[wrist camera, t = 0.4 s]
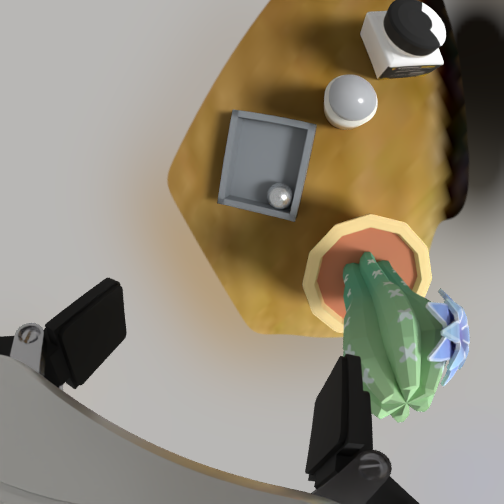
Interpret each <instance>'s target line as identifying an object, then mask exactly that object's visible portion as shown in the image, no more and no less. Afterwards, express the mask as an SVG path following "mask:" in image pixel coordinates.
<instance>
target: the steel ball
mask: <svg viewBox="0 0 504 504" xmlns="http://www.w3.org/2000/svg"><path fill="white" fill-rule="evenodd" d="M267 200H268V202H269V204H270V205H271V206H272V207H274V208H276V209H284V208H286V207H288V206H289V205H290V204H291V202H292V200H293V192H292V190H291V188H290V187H289V186H288V185H286V184H283V183H276V184H274V185H272V186H271V187H270V188H269V190H268V192H267Z"/></svg>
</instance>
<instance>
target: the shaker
mask: <svg viewBox="0 0 504 504" xmlns="http://www.w3.org/2000/svg"><path fill="white" fill-rule="evenodd" d="M376 109H377V96H376V93H375V91H374V89H373V87H372V86H371V84H370V83H369V82H368V81H366V80H365V79H363V78H361V77H359V76H356V75H342V76H339V77H337V78H335V79H333V80H332V81H331V82H330V83H329V84H328V86H327V88H326V90H325V95H324V113H325V116H326V118H327V120H328V121H329V122H330V123H331V124H332V125H333V126H334V127H336V128H338V129H342V130H351V129H354V128H356V127H358V126H360V125H362V124H364V123H366V122H367V121H369V120H370V119H371V118H372V117H373V116H374V114H375V112H376Z"/></svg>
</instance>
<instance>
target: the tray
mask: <svg viewBox="0 0 504 504" xmlns="http://www.w3.org/2000/svg"><path fill="white" fill-rule="evenodd" d="M316 127H317V126H316V124H312V123H307V122H303V121H298V120H293V119H288V118H283V117H277V116H272V115H266V114H260V113H253V112H247V111H239V110H233V111H232V116H231V122H230V127H229V133H228V139H227V145H226V151H225V157H224V163H223V169H222V175H221V182H220V188H219V195H218V202H217V203H219V204H223V205H228V206H232V207H236V208H241V209H245V210H249V211H253V212H257V213H262V214H266V215H270V216H274V217H278V218H282V219H286V220H290V221H294V222H295V220H296V217H297V213H298V209H299V205H300V201H301V196H302V192H303V187H304V183H305V179H306V174H307V169H308V165H309V160H310V156H311V151H312V146H313V142H314V137H315V132H316ZM276 183H283V184H286V185H288V186H289V187H290V188H291V190H292V192H293V200H292V202H291V204H290V205H289V206H288V207H286V208H284V209H276V208H274V207H272V206H271V205H270V204H269V202H268V200H267V192H268V190H269V188H270V187H271V186H272V185H274V184H276Z"/></svg>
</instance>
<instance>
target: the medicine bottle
mask: <svg viewBox="0 0 504 504" xmlns="http://www.w3.org/2000/svg"><path fill="white" fill-rule="evenodd" d="M360 35H361V38H362V40H363V42H364V45H365V47H366V50H367V52H368V55H369V58H370V60H371V63H372V66H373V68H374V71H375V74H376V77H377V79H378V80H384V79H393V78H403V77H416V76H425V75H427V74H428V73H430V72H431V71H433V70H435V69H436V68H438V67H440V66H441V65H443V63H444V61H443V58H442V56H441V53H440V51H439V47H440V46H441V45H442V44H443V43H444V41H445V38H446V30H445V27H444V24H443V22H442V20H441V19H440V17H439V16H438V15H437V14H436V12H435V11H433V10H432V9H431V8H430V7H429V6H427V5H426V4H424V3H422V2H420V1H417V0H395V1H394V2H393V3H392V4H391V5H390V6H389V9H388V11H377V12H368V13H367V14H366V17H365V20H364V23H363V26H362V29H361V32H360Z"/></svg>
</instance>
